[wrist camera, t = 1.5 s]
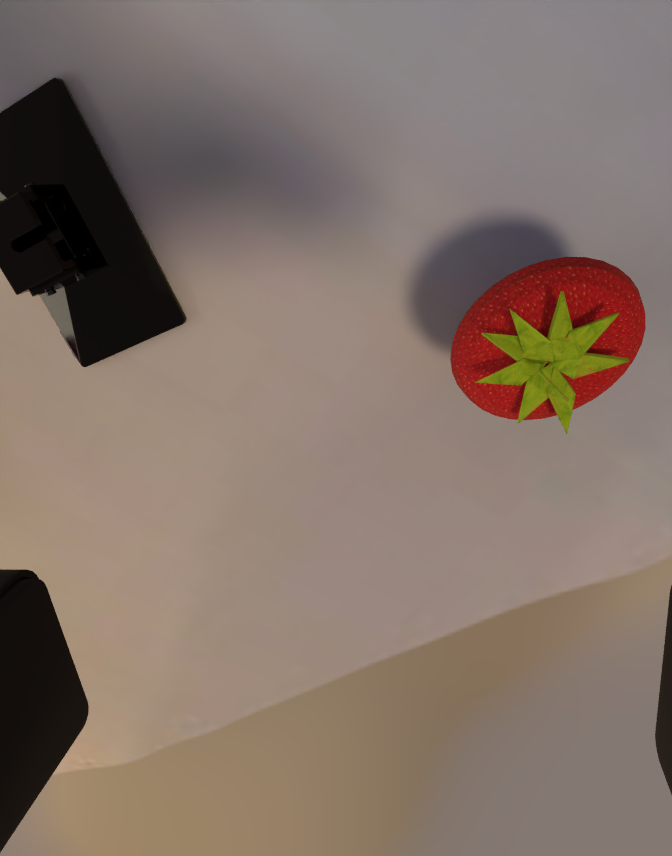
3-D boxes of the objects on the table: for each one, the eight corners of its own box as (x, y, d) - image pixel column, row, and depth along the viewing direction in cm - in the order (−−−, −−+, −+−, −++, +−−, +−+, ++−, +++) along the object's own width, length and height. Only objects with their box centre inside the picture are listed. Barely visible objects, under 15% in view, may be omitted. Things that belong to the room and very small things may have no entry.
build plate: (189, 320, 31) (150, 344, 27) (83, 367, 34) (32, 396, 29) (61, 76, 28) (-8, 60, 23) (-49, 147, 30) (-130, 144, 26)
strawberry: (630, 324, 28) (721, 398, 19) (483, 398, 30) (500, 495, 21) (575, 211, 26) (644, 231, 17) (425, 299, 29) (417, 357, 20)
